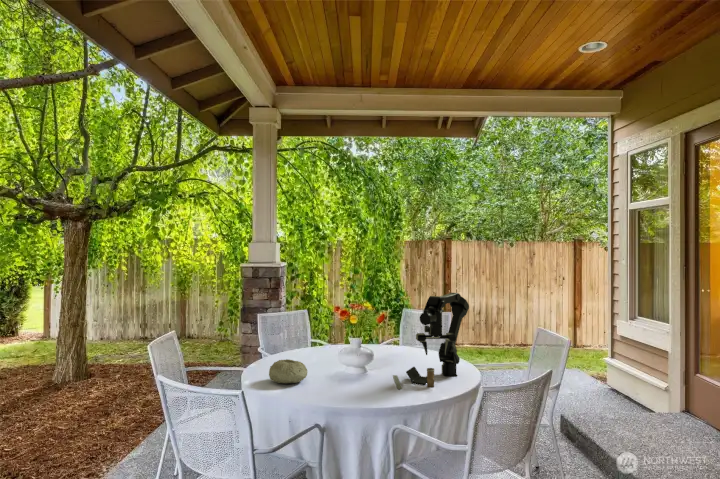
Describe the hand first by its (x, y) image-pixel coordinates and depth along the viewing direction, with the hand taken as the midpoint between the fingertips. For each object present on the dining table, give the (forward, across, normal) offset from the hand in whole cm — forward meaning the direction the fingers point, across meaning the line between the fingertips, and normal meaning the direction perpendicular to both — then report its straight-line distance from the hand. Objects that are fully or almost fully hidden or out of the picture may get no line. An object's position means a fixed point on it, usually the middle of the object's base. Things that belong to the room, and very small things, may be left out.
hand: (436, 354), depth 217 cm
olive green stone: (+12, +71, +1) cm, 72 cm away
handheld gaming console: (+12, +8, +1) cm, 15 cm away
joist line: (+12, +19, +3) cm, 23 cm away
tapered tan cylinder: (+12, +5, +10) cm, 16 cm away
